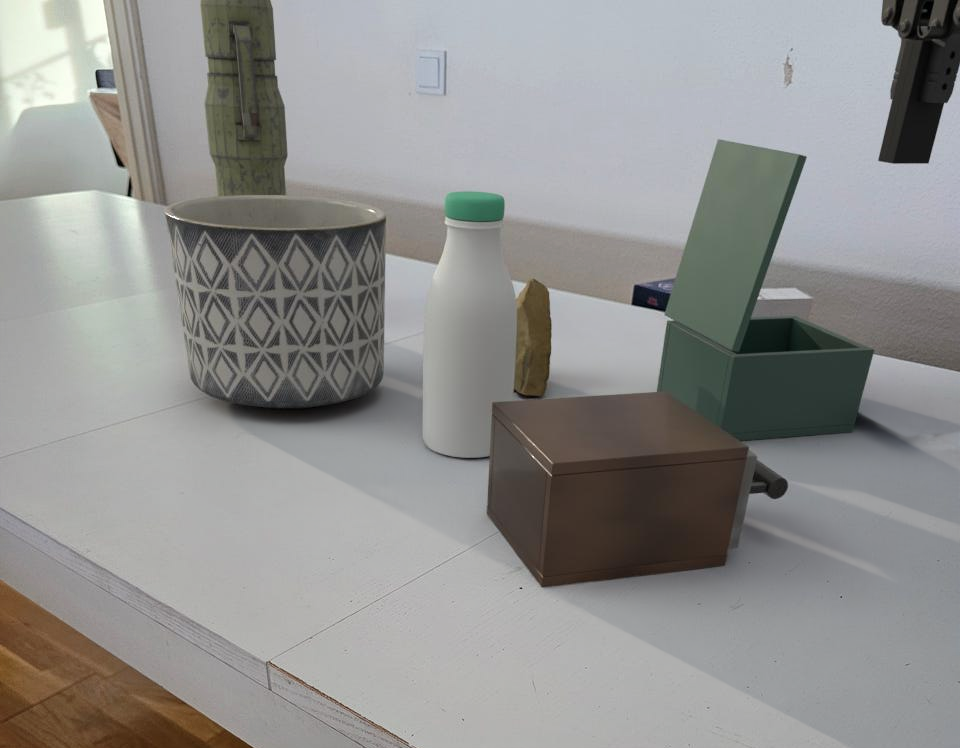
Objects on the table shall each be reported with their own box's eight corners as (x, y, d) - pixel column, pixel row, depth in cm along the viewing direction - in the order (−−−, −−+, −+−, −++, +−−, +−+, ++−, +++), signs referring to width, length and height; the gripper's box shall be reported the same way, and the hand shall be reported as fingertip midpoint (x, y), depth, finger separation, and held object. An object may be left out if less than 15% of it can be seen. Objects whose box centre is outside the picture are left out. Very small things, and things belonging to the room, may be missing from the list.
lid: (724, 141, 83) (717, 139, 83) (807, 156, 73) (799, 154, 73) (671, 316, 90) (663, 315, 90) (739, 352, 80) (731, 351, 80)
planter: (269, 353, 102) (257, 188, 94) (422, 383, 96) (424, 209, 87) (144, 400, 88) (115, 210, 79) (315, 440, 81) (304, 237, 72)
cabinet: (649, 498, 74) (665, 390, 69) (725, 565, 64) (749, 447, 60) (486, 514, 70) (491, 401, 65) (541, 588, 61) (552, 463, 56)
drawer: (716, 484, 74) (732, 401, 70) (791, 542, 66) (813, 450, 62) (518, 503, 69) (524, 415, 66) (572, 567, 61) (582, 470, 57)
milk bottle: (521, 457, 80) (539, 201, 69) (434, 463, 78) (438, 201, 67) (495, 426, 86) (507, 187, 75) (413, 431, 84) (414, 186, 73)
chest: (778, 391, 99) (795, 315, 95) (852, 432, 89) (874, 349, 85) (655, 399, 95) (666, 320, 91) (718, 443, 85) (734, 356, 81)
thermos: (285, 300, 124) (264, -23, 105) (307, 322, 114) (288, -27, 96) (218, 303, 120) (182, -29, 102) (234, 326, 111) (199, -34, 92)
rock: (573, 381, 91) (583, 341, 98) (524, 307, 87) (538, 271, 95) (485, 432, 96) (501, 391, 104) (435, 365, 92) (455, 326, 100)
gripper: (885, -336, 51) (793, 151, 63) (1083, -430, 40) (925, 175, 53) (995, -317, 53) (884, 151, 65) (1210, -401, 42) (1029, 174, 55)
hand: (903, 161), depth 59 cm, fingers closed
